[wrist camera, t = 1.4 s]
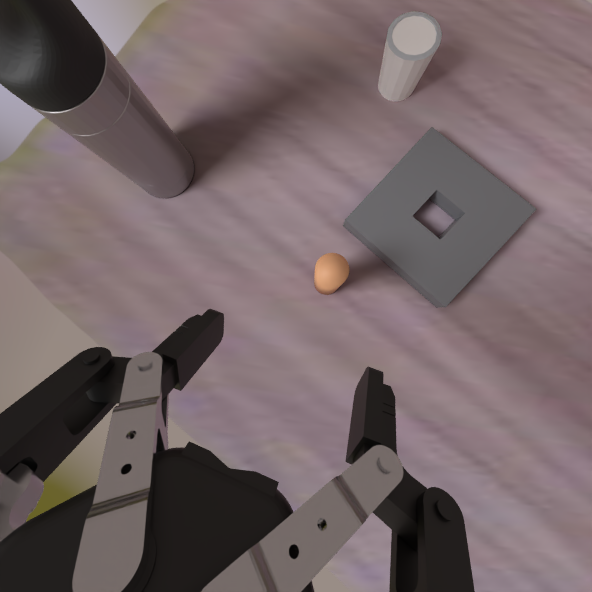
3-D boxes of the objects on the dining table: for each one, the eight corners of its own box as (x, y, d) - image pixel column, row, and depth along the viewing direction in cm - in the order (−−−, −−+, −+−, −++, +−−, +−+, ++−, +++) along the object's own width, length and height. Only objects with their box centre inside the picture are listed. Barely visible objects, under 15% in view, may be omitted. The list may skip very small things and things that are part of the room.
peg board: (342, 225, 38) (345, 219, 35) (424, 139, 38) (431, 126, 36) (436, 307, 36) (445, 307, 34) (521, 216, 36) (536, 209, 34)
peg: (309, 283, 38) (307, 270, 27) (325, 265, 38) (331, 246, 27) (327, 299, 37) (333, 293, 26) (343, 282, 37) (356, 268, 26)
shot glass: (425, 71, 39) (450, 18, 32) (409, 111, 39) (431, 66, 32) (383, 58, 39) (398, 3, 33) (367, 97, 39) (378, 50, 32)
